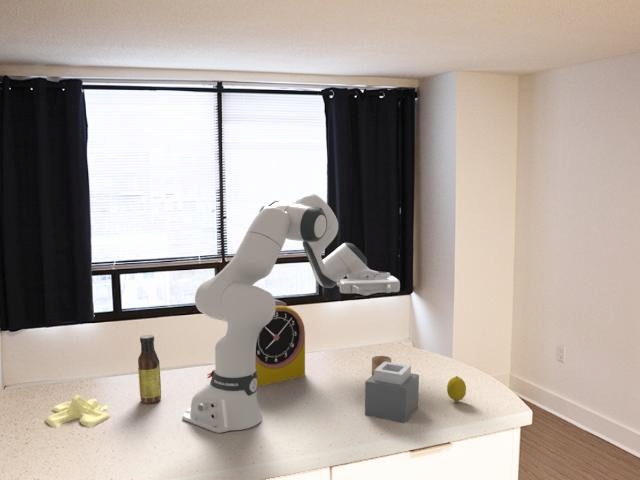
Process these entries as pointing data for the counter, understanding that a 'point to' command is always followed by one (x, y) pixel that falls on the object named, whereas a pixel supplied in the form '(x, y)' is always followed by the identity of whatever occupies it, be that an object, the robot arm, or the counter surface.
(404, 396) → the grey box with opening
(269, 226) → the robot arm
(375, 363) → the stopper
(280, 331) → the alarm clock
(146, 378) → the sauce bottle
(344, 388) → the counter surface
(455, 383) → the lemon
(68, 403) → the pale yellow lumpy piece
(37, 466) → the counter surface
